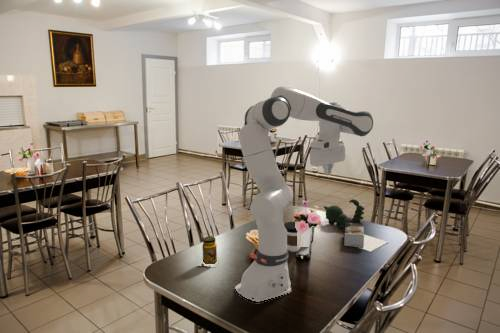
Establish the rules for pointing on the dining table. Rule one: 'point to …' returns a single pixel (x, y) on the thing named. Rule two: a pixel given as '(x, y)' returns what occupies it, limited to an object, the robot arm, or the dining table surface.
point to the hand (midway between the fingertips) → (327, 173)
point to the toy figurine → (343, 215)
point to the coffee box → (354, 235)
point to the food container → (313, 232)
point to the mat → (372, 243)
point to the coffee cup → (291, 236)
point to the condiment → (209, 250)
